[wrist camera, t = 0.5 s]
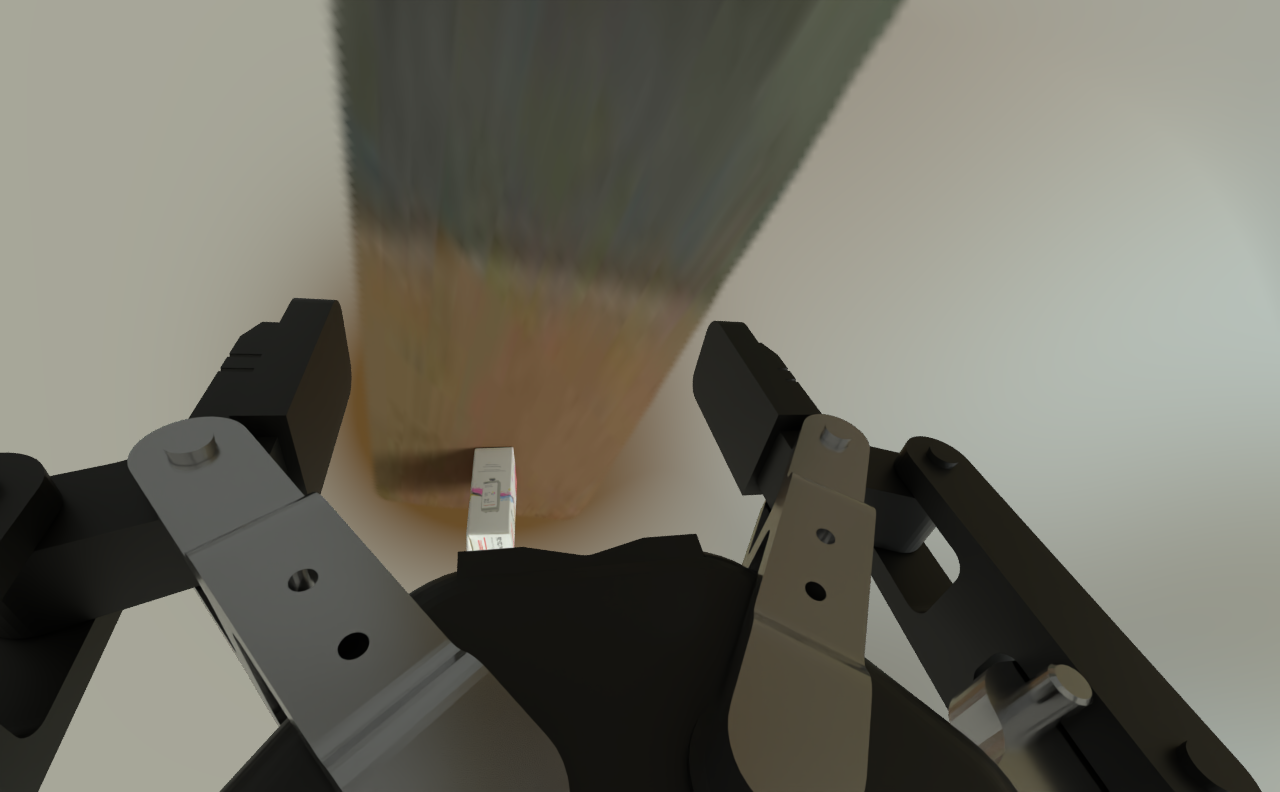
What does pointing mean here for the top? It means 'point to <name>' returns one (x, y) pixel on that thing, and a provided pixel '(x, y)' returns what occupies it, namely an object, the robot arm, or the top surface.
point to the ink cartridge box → (492, 500)
